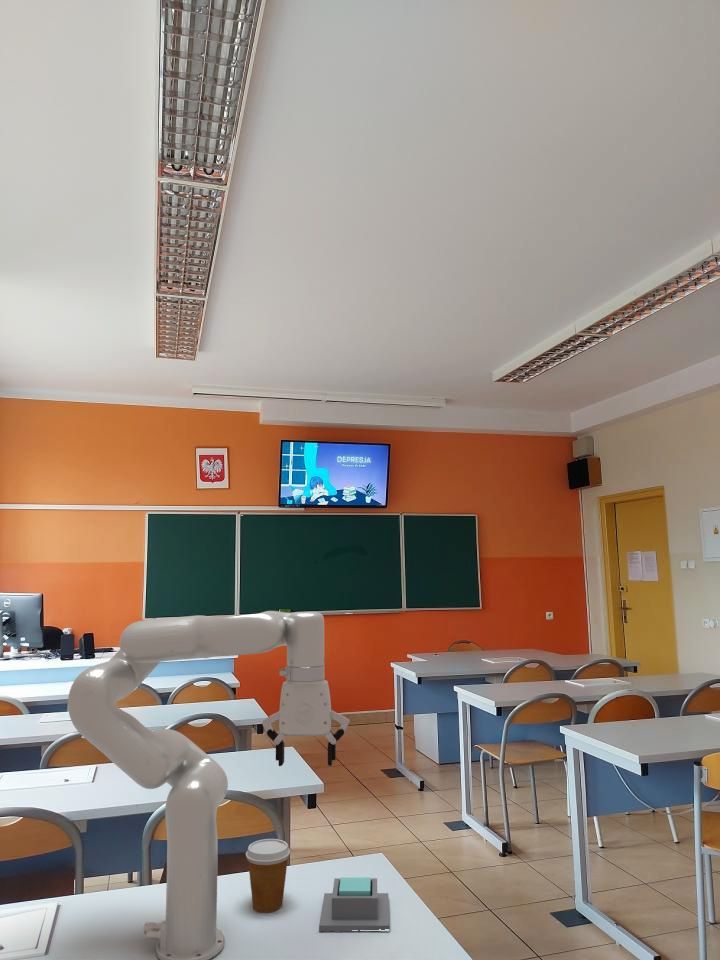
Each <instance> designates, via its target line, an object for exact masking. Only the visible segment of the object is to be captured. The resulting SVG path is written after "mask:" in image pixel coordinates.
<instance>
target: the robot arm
mask: <svg viewBox="0 0 720 960" xmlns="http://www.w3.org/2000/svg"><path fill="white" fill-rule="evenodd" d="M283 646H284V647H285V646H286V667H284V668H280V669H279V677H280V676H281V677H285V678H286V681H283V682H282V686H281V691H280V701H279V710H278V711H277V712H275V713H273V714H271V715H270V716H268V717H266V718H264V719H263V720H262V721H261V724H262V726H263V728H264V731H265V732H266V735H267V736H268V737H269V738H270V740H271V741H272V742H273V744H274V745H275V762H276V761H278V767H282V766H283V765H284V763H285V742H284V738H285V737H286V736H287V737H304V736H305V737H311V736H313V737H318V736H320V737H321V736H324V737H325V738H326V739H327V741H328V743H327V766H328V767H331V766H332V765H333V761H336V759H337V757H336V755H337V754H336V749H337V748H336V747H337V745H336V743H337V742H338V741H339V740H340V739H342V737H343V736H344V734H345V732H346V730H347V728H348V727H349V724H350V718H347V717H346V716H344V715H342V714H340V713H338V712H336V711H334V710H333V709H332V704H331V703H332V702H331V693H330V686H329V683H328V680H325V678H326V677H325V676H326V675H325V618H324V615H323V614H322V613H321V612H317V611H295V612H285V611H284V612H283V611H278V610H266V611H263V612H260V613H259V612H258V613H250V614H243V615H232V616H218V617H217V616H215V617H214V616H213V617H212V616H207V615H202V614H201V615H188V616H179V617H171V618H170V617H167V618H158V619H157V618H150V619H145V620H138V621H134V622H133V623H130V624H129V625H127V626H126V627H125V628H124V630H123V631H122V633H121V634H120V638H119V650H118V651H117V652H116V653H115V654H114V655H113V656H112V657H111V658H110V659H109V660H108V661H105V662H101V663H97V664H95V665H92V666H89V667H88V668H86V669H85V670H84V671H81V672H80V673H79V674H78V676H77V677H76V678H75V679H74V681H73V683H72V684H71V686H70V689H69V693H68V697H67V699H68V700H67V709H68V714H69V718H70V720H71V723H72V725H73V726H74V728H75V729H76V731H77V732H78V733H79V734H80V735H81V736H82V737H83V738H84V739H85V740H86V741H88V742H89V743H90V744H91V745H92V746H94V747H95V748H96V749H97V750H99V751H100V752H101V753H102V754H103V755H104V756H106V758H107V759H109V761H111V762H112V763H113V764H114V765H115V766H117V768H119V769H120V770H121V771H122V772H123V773H124V774H126V775H127V776H128V777H129V778H131V780H132V781H134V782H135V783H136V784H137V785H138V786H140V787H142V788H144V789H147V790H154V789H155V790H156V789H158V788H160V787H162V786H163V785H164V784H166V783H167V784H168V785H169V786H171V789H170V791H169V792H168V794H167V797H166V801H165V808H164V809H165V810H164V814H165V815H164V816H165V817H164V818H165V827H166V839H167V840H166V841H167V842H166V844H167V845H166V847H167V848H166V849H167V851H166V852H167V853H166V892H165V894H166V895H165V897H166V899H165V901H166V902H165V920H161V921H160V922H156V921H155V922H154V921H153V922H145V923H144V925H143V926H144V927H143V934H144V935H145V940H157V943H156V946H155V947H156V948H155V950H156V951H155V953H156V956H157V958H158V959H159V960H211V959H212V958H214V957H215V956H217V955H218V954H220V952H221V951H222V950H223V948H224V946H225V935H224V932H222V930H220V929H219V928H217V920H218V919H217V915H218V913H217V912H218V911H217V909H218V905H217V903H218V864H219V863H218V848H219V846H218V843H219V841H218V829H217V811H218V808H219V806H220V805H221V804H222V802H223V801H224V799H225V797H226V794H227V792H228V789H229V788H228V787H229V786H228V785H229V783H228V782H229V781H228V777H227V774H226V772H225V770H224V769H223V768H222V766H221V765H220V764H219V763H218V762H217V761H216V760H215V759H213V758H212V757H211V756H210V755H208V754H207V753H206V752H205V751H204V750H203V749H202V748H200V747H199V746H198V745H197V744H195V742H193V741H192V740H191V739H189V738H188V737H187V736H185V735H184V734H183V733H181V732H180V731H177V730H175V729H170V728H165V729H159V730H157V731H155V732H153V731H152V730H150V729H148V727H146V726H145V725H143V723H141V722H140V720H138V719H137V718H136V717H134V715H131V714H130V713H128V712H126V711H124V710H123V709H121V708H120V707H119V706H118V705H117V703H118V702H119V701H122V700H124V699H125V698H127V697H128V696H130V695H131V694H132V693H133V692H135V690H136V689H137V688H138V687H139V686H140V685H141V684H142V683H143V682H144V680H146V678H147V677H148V676H149V675H150V674H151V673H152V672H153V671H154V669H156V668H157V667H158V666H159V664H160V663H163V662H170V661H171V662H172V661H179V660H180V661H182V660H193V659H194V660H195V659H209V658H216V657H217V658H218V657H229V656H230V657H231V656H241V655H242V656H243V655H255V654H263V653H267V652H270V651H273V650H274V649H275V648H276V649H277V648H279V647H283ZM278 720H279V721H278ZM333 720H334V721H336V722H337V723H339V724H340V727H339V729H337V730H336V732H334V731H333V730H332V721H333ZM276 721H278V730H279V733H277V731H276V730H275V729H273V726H272V723H274V722H276Z"/></svg>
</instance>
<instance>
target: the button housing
mask: <svg viewBox="0 0 720 960" xmlns="http://www.w3.org/2000/svg"><path fill="white" fill-rule="evenodd" d="M341 878H342V877H340V878H338V877H337V878H336V877H335V878H334V881H333V887H332V893H331V892H330V893H329V892H327V893H326V892H325V893H324V892H323V893H324V894H323V899H322V906H321V910H320V911H321V912H320V918H319V924H318V932H319V933H322V932H321V931H326V932H325V933H329V932H328V931H352V930H358V931H360V930H379V929H381V930H385V929H391V928H390V927H391V926H390V904H389V903H390V902H389V900H390V899H389V893H387V892H386V893H385V892H378V878H374V877H373V878H371V896H339V887H340V879H341Z"/></svg>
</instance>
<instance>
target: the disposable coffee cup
mask: <svg viewBox="0 0 720 960" xmlns="http://www.w3.org/2000/svg"><path fill="white" fill-rule="evenodd" d="M290 854H291V850H290V848H289V844H288V843H287V842H286V841H284V840H283V839H282V840H281V839H278V838H264V839H259V840H256V841H254V842H252V843H250V844H249V845H248V848H247V851H246V852H245V856H246V860H247V861H248V873H249V880H250V881H249V882H250V891H251V892H250V893H251V903H252V908H253V910H254V911H257V912H259V913H267V914H268V913H273V912H276V911H278V910H280V909H281V908H282V907H283V903H284V896H285V895H284V893H285V887H286V886H285V885H286V877H287V876H286V875H287V869H288V868H287V867H288V860H289V856H290Z"/></svg>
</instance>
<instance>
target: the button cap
mask: <svg viewBox="0 0 720 960" xmlns="http://www.w3.org/2000/svg"><path fill="white" fill-rule="evenodd" d="M340 878H341V879H340V887H339V896H371V877H340Z"/></svg>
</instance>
